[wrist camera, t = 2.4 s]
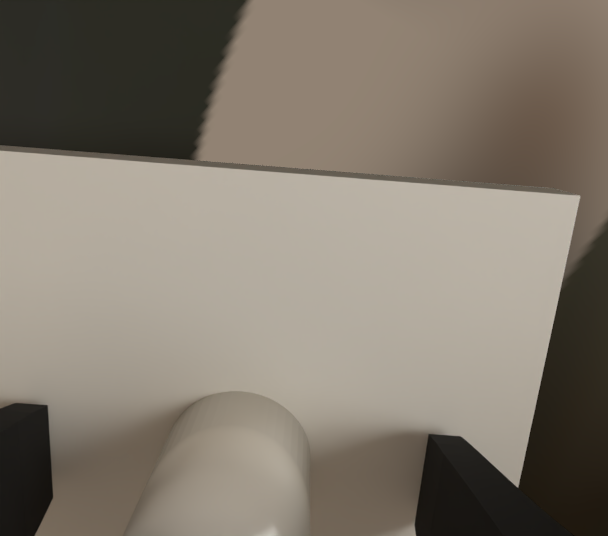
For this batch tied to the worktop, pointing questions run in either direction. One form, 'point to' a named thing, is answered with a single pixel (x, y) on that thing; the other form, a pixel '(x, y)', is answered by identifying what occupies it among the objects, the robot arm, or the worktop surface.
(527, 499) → the robot arm
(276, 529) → the lid
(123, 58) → the worktop surface
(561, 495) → the worktop surface
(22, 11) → the worktop surface
